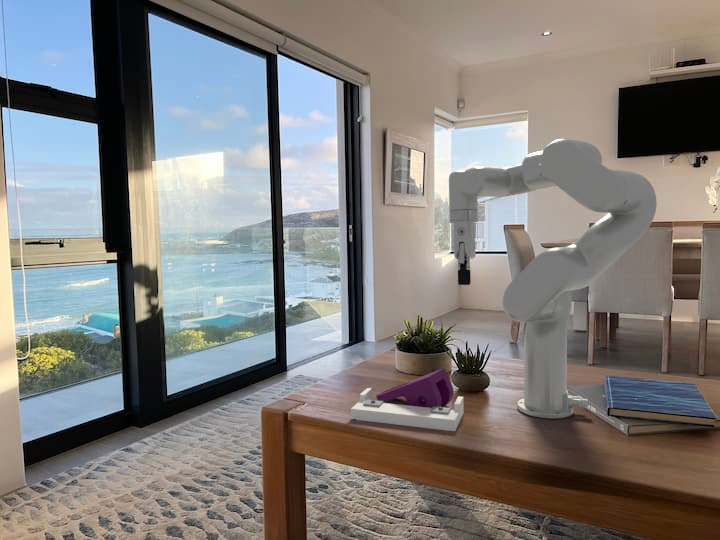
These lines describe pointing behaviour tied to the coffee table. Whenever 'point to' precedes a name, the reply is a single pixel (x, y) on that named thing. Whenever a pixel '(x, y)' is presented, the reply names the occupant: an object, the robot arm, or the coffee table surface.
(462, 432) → the coffee table surface
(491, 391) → the coffee table surface
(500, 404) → the coffee table surface
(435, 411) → the white bolted base plate
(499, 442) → the coffee table surface
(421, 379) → the mounting bracket
